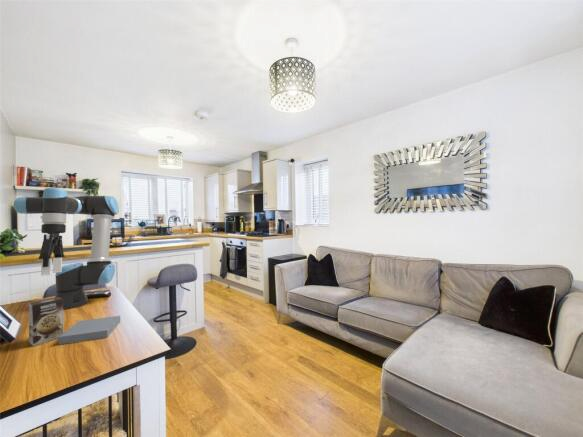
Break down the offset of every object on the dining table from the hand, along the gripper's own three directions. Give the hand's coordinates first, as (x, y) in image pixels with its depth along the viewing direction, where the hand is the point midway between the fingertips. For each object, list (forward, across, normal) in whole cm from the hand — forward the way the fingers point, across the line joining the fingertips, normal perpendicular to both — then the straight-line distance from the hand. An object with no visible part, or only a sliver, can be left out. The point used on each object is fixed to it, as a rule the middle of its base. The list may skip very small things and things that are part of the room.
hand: (51, 273), depth 103 cm
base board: (+26, +3, +14) cm, 30 cm away
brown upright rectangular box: (+27, +1, 0) cm, 27 cm away
